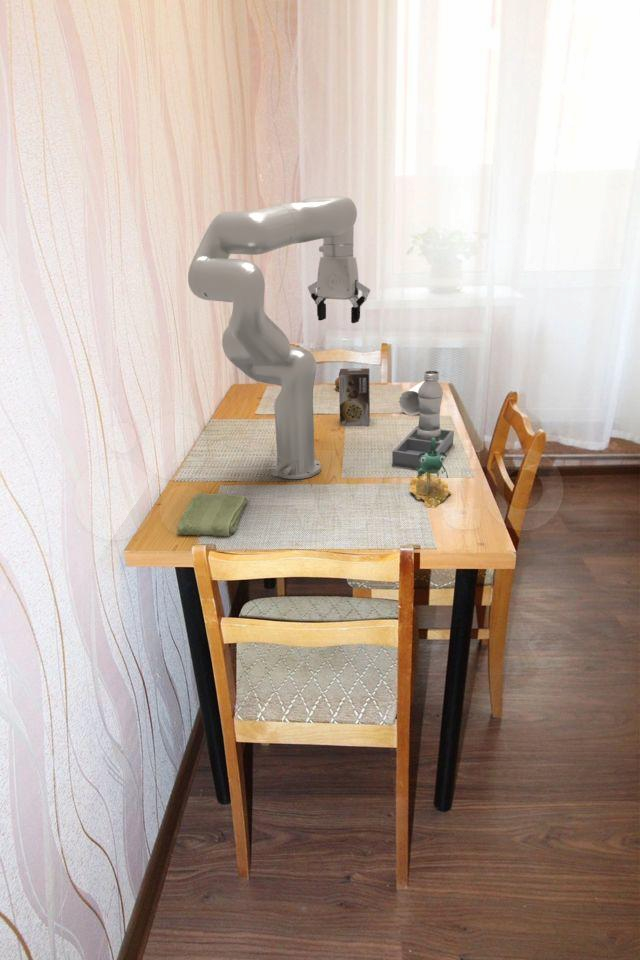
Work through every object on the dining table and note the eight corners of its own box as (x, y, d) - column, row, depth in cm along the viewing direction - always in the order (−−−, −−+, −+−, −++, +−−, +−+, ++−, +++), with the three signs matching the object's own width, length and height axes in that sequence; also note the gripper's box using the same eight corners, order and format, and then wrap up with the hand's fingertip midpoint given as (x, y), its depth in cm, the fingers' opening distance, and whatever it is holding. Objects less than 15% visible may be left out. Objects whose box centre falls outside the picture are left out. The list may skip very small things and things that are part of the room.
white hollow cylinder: (443, 401, 215) (445, 377, 212) (422, 417, 201) (423, 392, 197) (421, 397, 219) (422, 374, 216) (398, 413, 204) (399, 389, 201)
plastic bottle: (445, 446, 175) (449, 373, 167) (423, 450, 173) (426, 376, 165) (432, 438, 181) (436, 368, 172) (411, 442, 178) (414, 371, 170)
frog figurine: (448, 476, 160) (453, 422, 153) (452, 517, 145) (457, 459, 138) (409, 474, 162) (412, 421, 154) (408, 515, 146) (412, 457, 139)
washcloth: (250, 502, 151) (249, 489, 149) (234, 540, 135) (232, 526, 133) (195, 501, 152) (194, 488, 150) (172, 538, 136) (170, 524, 134)
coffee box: (370, 419, 200) (370, 368, 193) (369, 426, 194) (369, 373, 188) (340, 418, 201) (340, 367, 194) (339, 425, 195) (338, 373, 189)
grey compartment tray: (432, 472, 163) (432, 457, 161) (392, 465, 167) (392, 451, 165) (453, 444, 179) (453, 430, 178) (416, 439, 184) (416, 426, 182)
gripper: (300, 251, 162) (302, 320, 169) (363, 253, 155) (362, 326, 161) (315, 249, 168) (316, 316, 175) (376, 251, 161) (374, 321, 167)
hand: (338, 321), depth 168 cm, fingers open, 9 cm apart
